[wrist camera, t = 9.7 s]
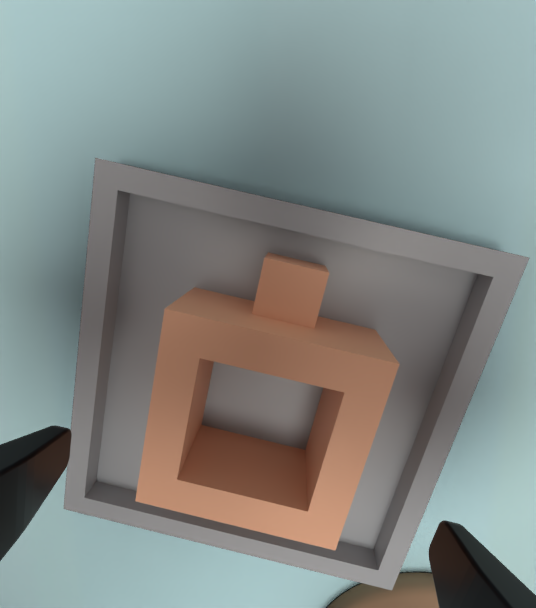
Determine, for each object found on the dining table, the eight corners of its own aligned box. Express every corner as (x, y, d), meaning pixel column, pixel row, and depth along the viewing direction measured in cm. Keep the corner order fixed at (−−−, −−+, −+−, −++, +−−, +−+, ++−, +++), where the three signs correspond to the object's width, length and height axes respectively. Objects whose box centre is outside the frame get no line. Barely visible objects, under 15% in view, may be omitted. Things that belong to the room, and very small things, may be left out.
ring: (327, 482, 14) (335, 550, 11) (167, 443, 14) (134, 501, 11) (390, 280, 12) (421, 301, 9) (202, 237, 12) (174, 243, 9)
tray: (383, 555, 16) (391, 590, 14) (84, 482, 16) (63, 508, 14) (501, 252, 12) (529, 258, 11) (118, 164, 12) (95, 158, 11)
